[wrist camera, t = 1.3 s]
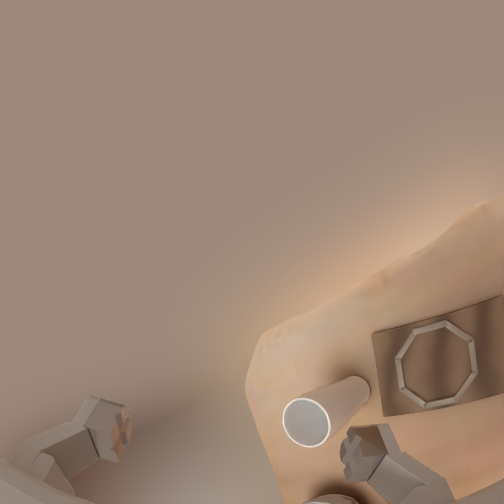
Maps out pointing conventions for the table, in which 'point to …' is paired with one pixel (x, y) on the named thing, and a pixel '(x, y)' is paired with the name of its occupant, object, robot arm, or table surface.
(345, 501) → the teacup
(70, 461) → the robot arm
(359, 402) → the drinking glass
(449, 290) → the table surface
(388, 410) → the walnut board
